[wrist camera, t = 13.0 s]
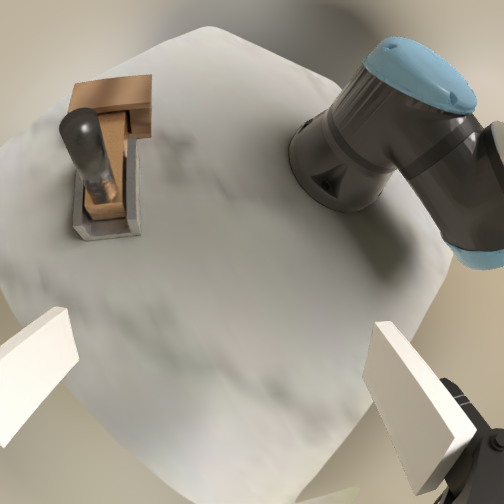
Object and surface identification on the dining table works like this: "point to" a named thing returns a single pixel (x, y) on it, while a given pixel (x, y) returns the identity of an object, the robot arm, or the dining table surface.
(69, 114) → the mallet
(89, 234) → the channel
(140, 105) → the socket block
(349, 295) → the dining table surface
